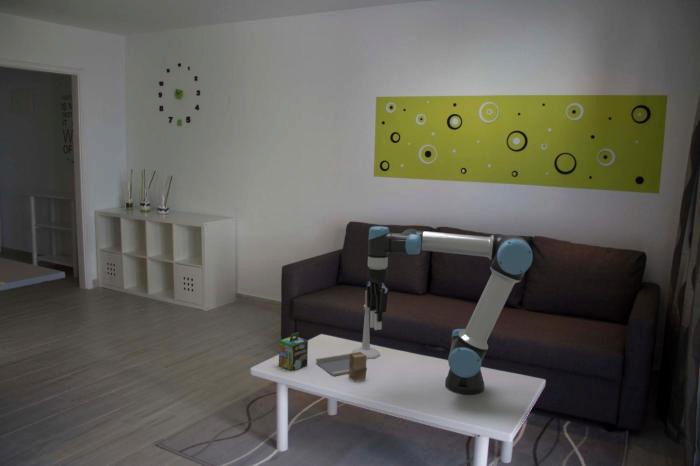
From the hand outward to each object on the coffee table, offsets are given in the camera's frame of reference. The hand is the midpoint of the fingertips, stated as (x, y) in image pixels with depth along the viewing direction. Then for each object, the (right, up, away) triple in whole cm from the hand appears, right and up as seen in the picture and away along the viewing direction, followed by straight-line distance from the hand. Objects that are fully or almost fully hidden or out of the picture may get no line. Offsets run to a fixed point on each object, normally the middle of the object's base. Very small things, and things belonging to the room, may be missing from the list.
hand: (375, 328), depth 219 cm
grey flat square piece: (-14, -21, +27) cm, 36 cm away
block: (-7, -23, +14) cm, 28 cm away
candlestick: (-3, -19, +44) cm, 48 cm away
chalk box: (-34, -21, +27) cm, 48 cm away
